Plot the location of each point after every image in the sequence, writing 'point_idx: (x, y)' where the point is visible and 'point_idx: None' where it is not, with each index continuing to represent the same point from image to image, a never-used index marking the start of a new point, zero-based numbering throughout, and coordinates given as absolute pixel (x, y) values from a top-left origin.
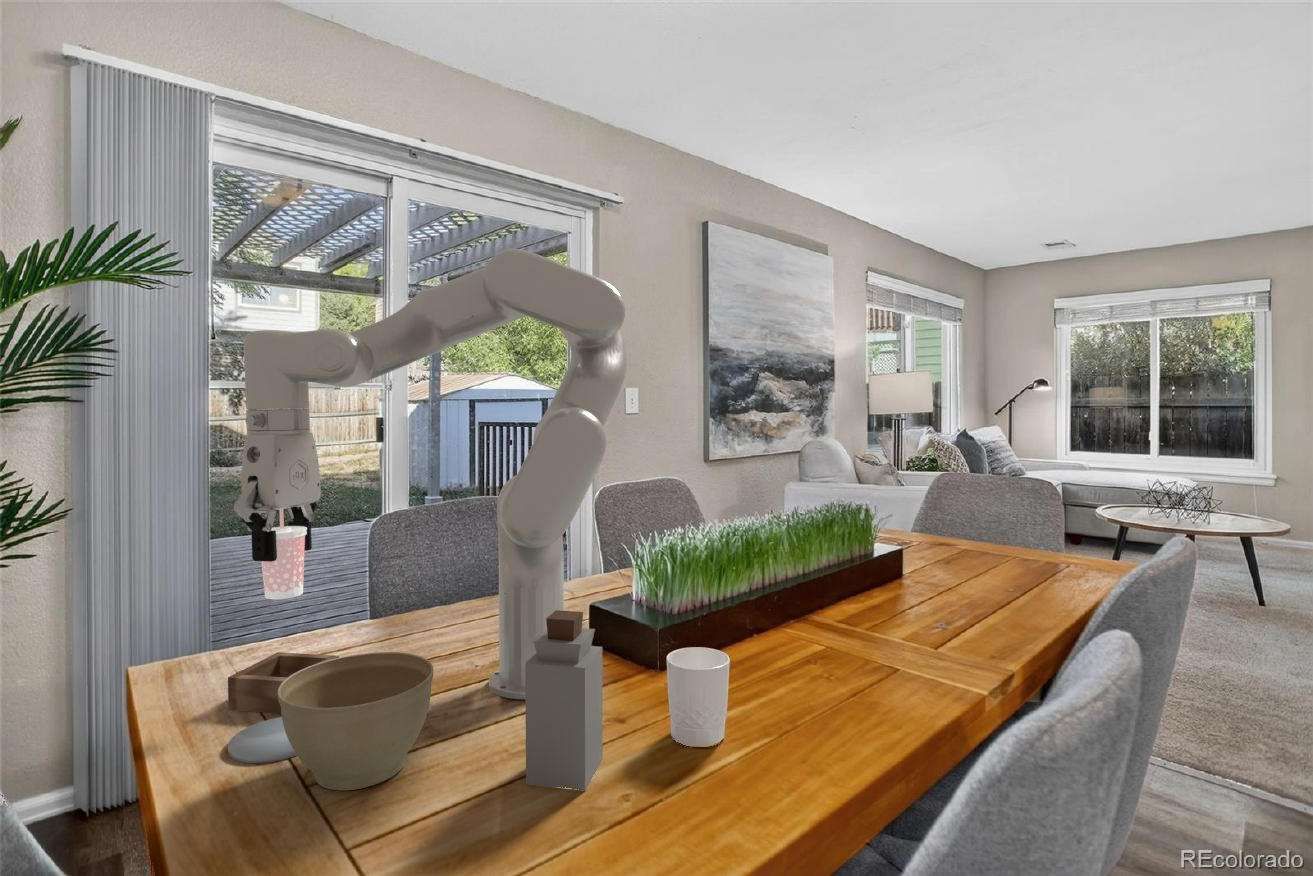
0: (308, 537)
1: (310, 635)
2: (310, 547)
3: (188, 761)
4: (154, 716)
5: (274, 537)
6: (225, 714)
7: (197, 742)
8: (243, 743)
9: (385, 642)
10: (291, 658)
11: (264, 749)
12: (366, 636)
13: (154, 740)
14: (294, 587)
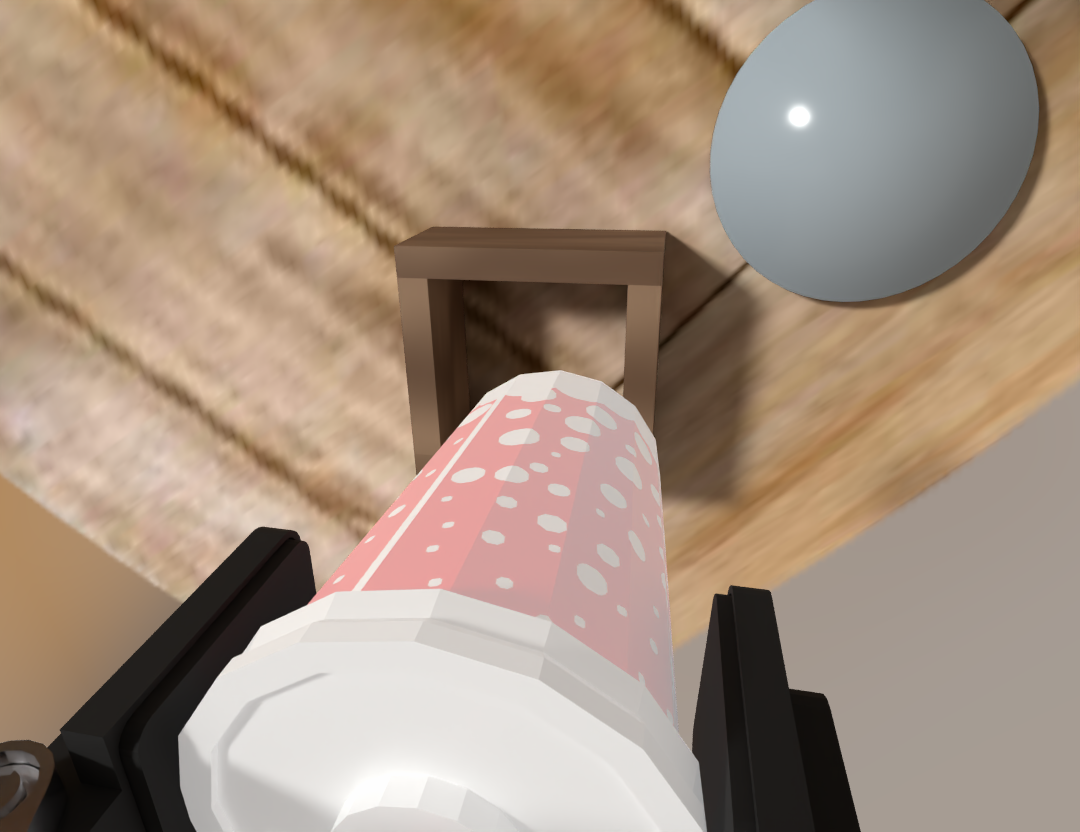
0: (224, 607)
1: (129, 545)
2: (270, 533)
3: (990, 344)
4: (706, 598)
5: (777, 778)
6: (679, 439)
7: (864, 398)
8: (932, 233)
9: (77, 292)
10: (440, 411)
11: (985, 130)
12: (64, 384)
13: (849, 512)
14: (589, 402)
